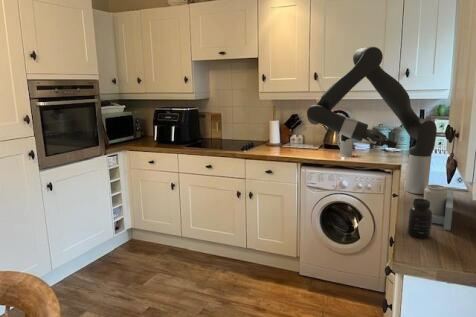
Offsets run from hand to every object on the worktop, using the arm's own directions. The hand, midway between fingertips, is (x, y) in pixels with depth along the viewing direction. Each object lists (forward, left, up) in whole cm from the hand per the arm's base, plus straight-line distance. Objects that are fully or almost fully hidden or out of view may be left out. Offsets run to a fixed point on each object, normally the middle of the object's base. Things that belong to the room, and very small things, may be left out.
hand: (395, 145), depth 146 cm
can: (+6, +16, -25) cm, 30 cm away
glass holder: (-99, -45, -25) cm, 112 cm away
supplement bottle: (+27, +12, -25) cm, 39 cm away
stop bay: (+6, +17, -25) cm, 31 cm away
